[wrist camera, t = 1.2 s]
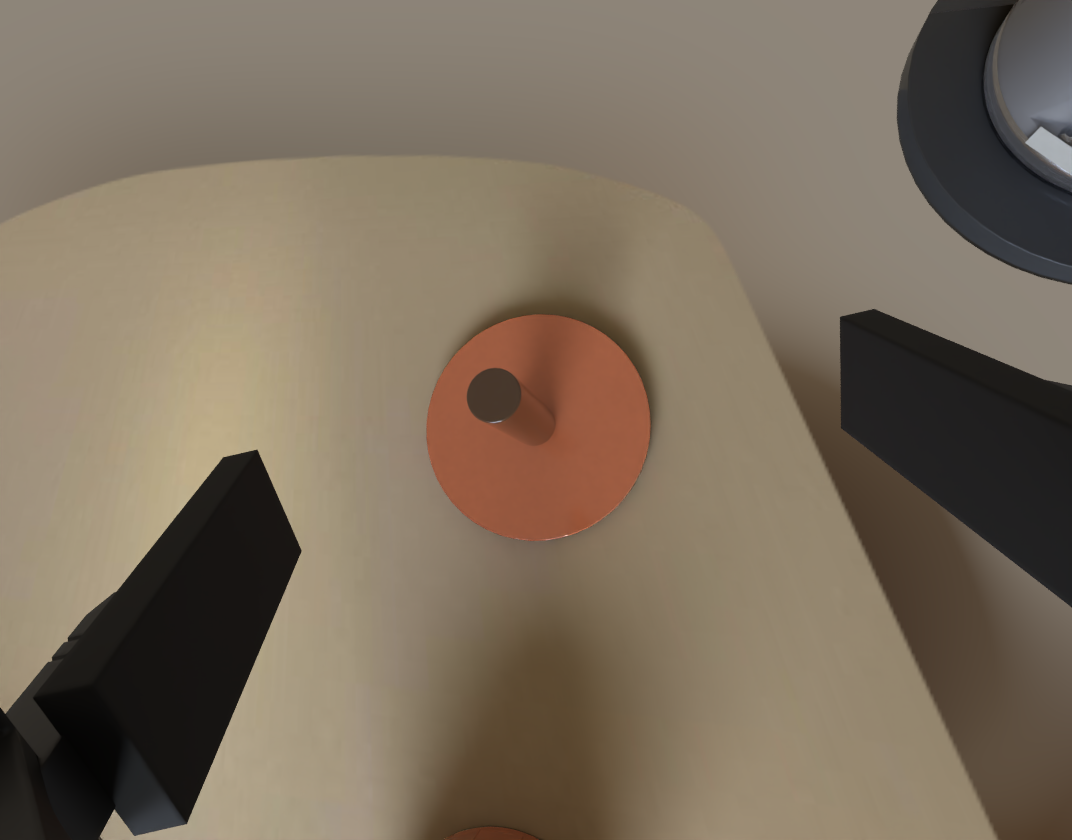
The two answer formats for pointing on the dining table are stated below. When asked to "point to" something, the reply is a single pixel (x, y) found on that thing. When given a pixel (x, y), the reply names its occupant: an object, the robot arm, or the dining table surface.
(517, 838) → the jar
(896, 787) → the dining table surface
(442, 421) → the lid
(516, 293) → the dining table surface
